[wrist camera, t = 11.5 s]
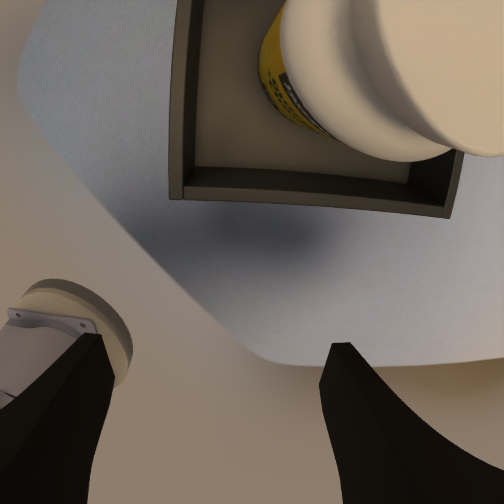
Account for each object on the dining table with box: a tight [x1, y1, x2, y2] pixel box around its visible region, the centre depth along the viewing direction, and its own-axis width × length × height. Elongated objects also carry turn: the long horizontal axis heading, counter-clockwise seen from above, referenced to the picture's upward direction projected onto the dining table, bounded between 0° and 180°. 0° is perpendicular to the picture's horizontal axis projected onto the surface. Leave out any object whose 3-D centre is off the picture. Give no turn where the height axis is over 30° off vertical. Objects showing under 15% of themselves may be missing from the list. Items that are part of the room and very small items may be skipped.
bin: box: [168, 0, 464, 219], centre depth 12 cm, size 13×12×4 cm
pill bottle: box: [258, 0, 504, 162], centre depth 8 cm, size 6×6×12 cm
